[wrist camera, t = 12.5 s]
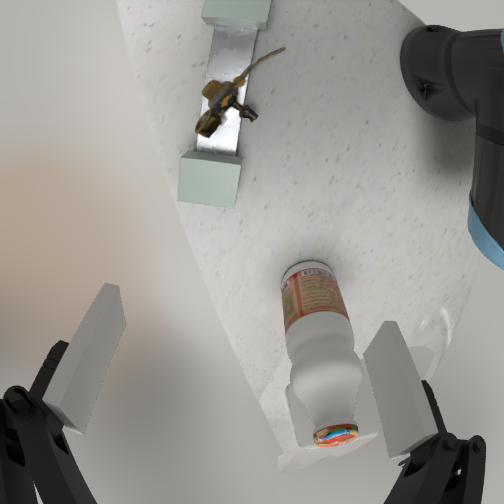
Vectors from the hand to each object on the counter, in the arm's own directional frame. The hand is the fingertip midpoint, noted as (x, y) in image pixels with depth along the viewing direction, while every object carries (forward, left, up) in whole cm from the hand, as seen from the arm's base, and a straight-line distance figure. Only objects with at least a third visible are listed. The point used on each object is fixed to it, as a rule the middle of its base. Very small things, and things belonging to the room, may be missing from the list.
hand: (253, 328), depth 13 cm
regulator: (+4, -10, -26) cm, 29 cm away
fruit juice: (-12, +18, -29) cm, 36 cm away
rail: (+6, -10, -29) cm, 31 cm away
